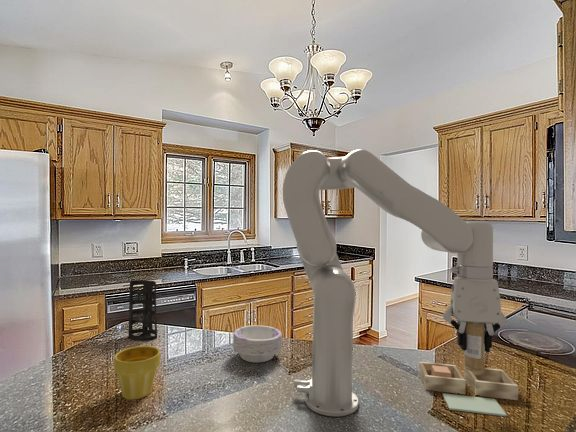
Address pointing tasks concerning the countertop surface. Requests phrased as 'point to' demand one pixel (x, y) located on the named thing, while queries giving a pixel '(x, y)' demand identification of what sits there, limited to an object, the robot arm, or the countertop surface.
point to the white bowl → (257, 342)
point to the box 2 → (492, 384)
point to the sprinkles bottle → (474, 347)
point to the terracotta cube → (440, 371)
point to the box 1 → (442, 379)
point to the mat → (473, 404)
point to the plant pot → (136, 370)
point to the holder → (143, 310)
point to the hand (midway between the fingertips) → (474, 348)
